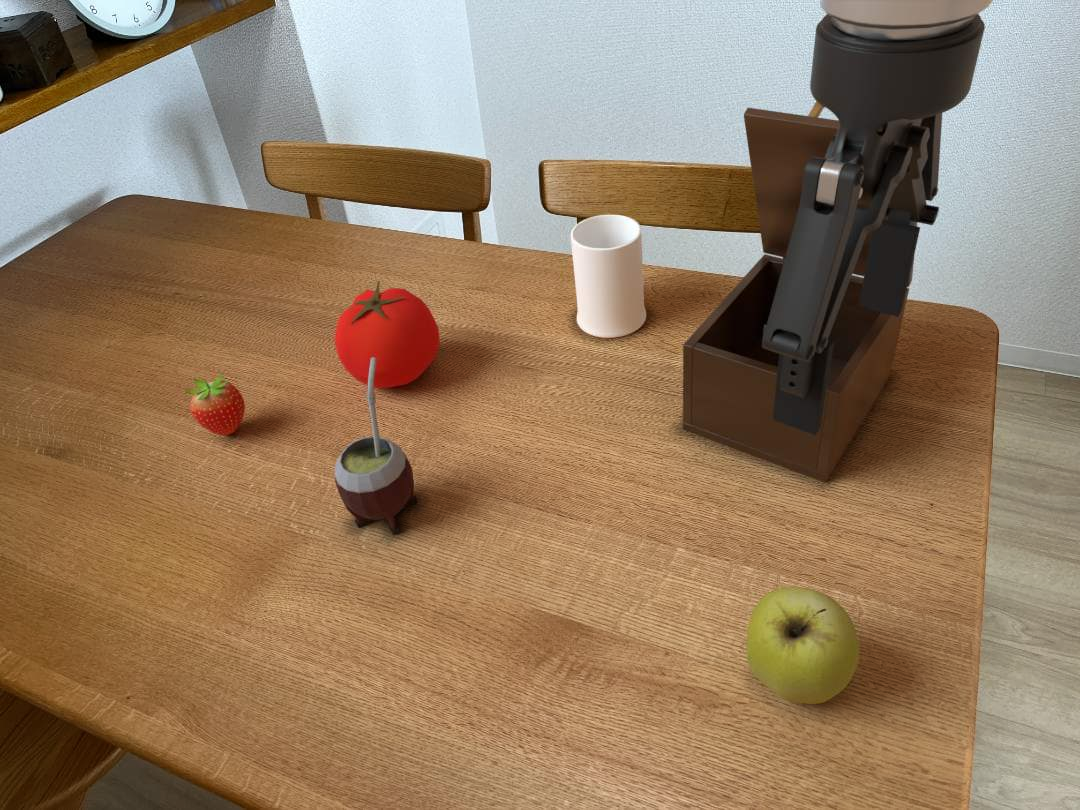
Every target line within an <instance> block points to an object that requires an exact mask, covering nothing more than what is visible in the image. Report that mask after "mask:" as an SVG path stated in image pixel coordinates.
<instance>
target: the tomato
mask: <svg viewBox="0 0 1080 810" xmlns="http://www.w3.org/2000/svg"><path fill="white" fill-rule="evenodd" d="M347 307H348V308H346V309H345V310H343V312H342V313H341V315H339V317H338V320H337V324H336V328H335V333H334V346H335V349H336V353H337V356H338V359H339V361H340V362H341V364H342V366H343V367H344V369H345V370H346V371H347V372H348V373H349V374H350V376H352V377H353V378H354V379H355V380H356V381H357V382H360V383H361V384H363V385H366V386H368V377H369V369H370V361H371V358H376V366H375V375H374V389H375V388H376V389H386V388H387V389H388V388H394V387H401V386H404V385H408V384H410V383H412V382H414V381H415V380H417V379H418V378H419V377H420V376H421V375H422V374H423V373H424V372H425V371H426V370H427V369H428V367H429V366H430V365H431V364H432V362H433V361H434V360H435V359H436V356H437V353H438V350H439V347H440V345H441V340H440V339H441V338H440V331H439V330H440V329H439V325H438V324H437V321H436V320H435V318H434V315H433V313H432V312H431V309H430V308H429V307H428V305H426V303H425V302H424V301H423V300H422V299H421V298H420V297H418V296H416V295H415V294H414V293H412V292H410V291H409V290H407V289H406V288H400V287H399V288H398V287H389V288H387V289H385V290H384V291H382V292H380V280H378V281H377V283H376V288H375V290H373V289H366V290H364V291H363V292H361V293H359V294H358V295H356V296H355V297H354V300H353V301H352V303H351V304H350V305H347Z"/></svg>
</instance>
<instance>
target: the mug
mask: <svg viewBox="0 0 1080 810" xmlns="http://www.w3.org/2000/svg"><path fill="white" fill-rule="evenodd" d="M642 234H643V233H642V227H641V225H640V223H639V222H638V221H637V220H635V219H634V218H632V217H629V216H626V215H622V214H600V215H595V216H590V217H588V218H586V219H583V220H581V221H580V222H578V223H577V224H576V225H575V226H573V228H572V229H571V231H570V243H571V255H572V265H573V275H574V285H575V295H576V304H577V306H576V307H577V314H576V324H577V325H578V327H579V328H580V329H581V330H582V331H583V332H584V333H586V334H588V335H589V336H593V337H597V338H603V339H615V338H621V337H625V336H629V335H630V334H633V333H634V332H636V331H638V330H639V329H640V328H641V327H642V326H643V325H644V323H645V322H646V319H647V310H646V307H645V295H644V269H643V268H644V264H643V239H642V237H643V236H642Z"/></svg>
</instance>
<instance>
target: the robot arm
mask: <svg viewBox="0 0 1080 810" xmlns="http://www.w3.org/2000/svg"><path fill="white" fill-rule="evenodd" d="M993 1H994V0H819V5H820V8H821V9H822V10H823V11H824V13H826V14H825V15H824V16H823V17H822V19H821V20H820V21H819V22H818V24H817V25H816V27H815V35H814V45H813V53H812V63H811V71H810V72H811V73H810V80H809V81H810V82H809V90H810V93H811V95H812V97H813V99H814V101H815V102H816V101H817V102H818V103H819V104H820V105H821V106H823V107H824V108H826V109H827V110H829V111H830V112H831V113H832V114H833V115H834V116H835V117H836V118H837V120H839V122H840V127H839V129H838V131H837V135H836V134H835V135H834V136H833V137H832V139H831V141H830V144H829V147H828V150H827V152H826V155H825V159H824V158H818V157H811V158H810V159H809V161H808V163H807V165H806V167H805V171H804V179H803V186H802V192H801V199H800V206H799V209H798V213H797V217H796V220H795V224H794V228H793V231H792V235H791V238H790V242H789V246H788V249H787V253H786V257H785V258H784V259H785V260H784V264H783V267H782V271H781V275H780V278H779V282H778V286H777V289H776V293H775V297H774V300H773V304H772V307H771V311H770V315H769V318H768V322H767V325H764V328H763V338H762V348H764V349H767V350H770V351H773V352H776V353H779V362H778V371H777V381H776V391H775V400H774V410H773V420H774V421H777V422H780V423H783V424H785V425H788V426H791V427H794V428H796V429H799V430H802V431H805V432H807V433H810V434H813V435H816V434H817V432H818V431H819V430H820V428H821V422H822V416H823V410H824V403H825V397H826V391H827V384H828V378H829V372H830V365H831V359H832V353H833V346H834V340H831V339H828V337H829V335H830V332H831V329H832V327H833V324H834V321H835V319H836V316H837V313H838V311H839V308H840V305H841V303H842V300H843V297H844V295H845V292H846V289H847V286H848V284H849V281H850V278H851V276H852V275H853V274H852V273H853V270H854V268H855V265H856V262H857V260H858V257H859V254H860V252H861V249H862V246H863V244H864V241H865V238H866V235H867V234H868V233H869V232H870V231H872V234H871V240H870V246H869V251H868V257H867V263H866V268H865V274H864V276H863V278H864V279H863V285H862V291H861V296H860V302H859V307H863V308H866V309H870V310H874V311H877V312H881V313H885V314H889V315H892V316H896V317H898V316H899V315H900V313H901V312H902V309H903V304H904V299H905V295H906V290H907V288H908V287H907V286H908V281H909V277H910V272H911V268H912V263H913V259H914V260H915V254H916V249H917V245H918V239H919V236H920V231H921V226H918V225H917V226H914V223H915V222H918V224H924V225H929V226H933V225H934V224H935V222H936V220H937V218H938V215H939V210H940V206H935V205H931V204H927V201H928V202H933V200H934V198H935V197H937V195H938V192H939V188H938V186H939V175H940V173H939V172H940V156H941V144H942V143H941V141H942V126H943V125H942V124H943V113H946V112H948V111H950V110H952V109H954V108H955V107H957V106H958V105H959V104H961V103H962V102H963V101H964V100H965V99H966V98H967V96H968V95H969V93H970V90H971V88H972V84H973V79H974V74H975V71H976V67H977V62H978V58H979V54H980V50H981V45H982V41H983V37H984V32H985V28H986V25H985V22H984V21H983V20H982V18H981V17H982V16H980V14H979V13H982V12H983V11H984V10H985V9H987V8H989V6H990V5H991V4H992V3H993ZM824 108H823V109H824ZM857 205H859V206H864V207H870V208H868V209H858V208H857ZM884 215H885V216H888V219H887V220H884V219H883V218H884Z"/></svg>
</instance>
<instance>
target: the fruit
mask: <svg viewBox="0 0 1080 810" xmlns="http://www.w3.org/2000/svg"><path fill="white" fill-rule="evenodd" d="M193 380H194V383H195V385H196V387H198V388H190V389H186V388H184V389H182V390H183V391H185V392H186V393H188V394H193V396H192V397H191V400H190V405H189V408H190V413H191V415H192V417H193V418H194V420H195V421H196V422H197V423H198V424H199V425H200V426H201V427H203V428H204V429H205V430H207V431H209V432H211V433H212V434H216V435H219V436H228V435H231V434H233V433H236V431H237V430H238V429H239V428H240V425H241V424H242V422H243V419H244V416H245V411H246V405H245V404H246V403H245V399H244V398H243V394H241V391H240V390H239V389H238V388H237V387H236V386H235V385H234V384H232V383H230V382H229V381H230V379H228V380H223V373H222V374H221V375H219V376H218V377H217V378H216V379H215V380H212V381H209V382H207V380H206V378H203V380H200V379H197V378H195V377H194V378H193Z"/></svg>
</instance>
